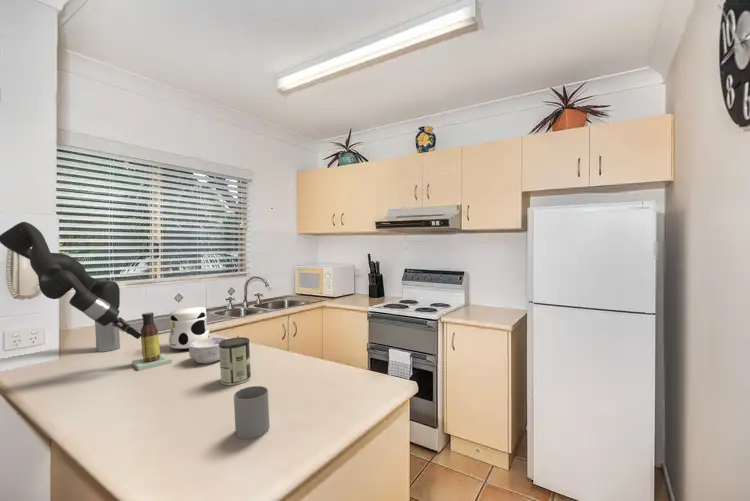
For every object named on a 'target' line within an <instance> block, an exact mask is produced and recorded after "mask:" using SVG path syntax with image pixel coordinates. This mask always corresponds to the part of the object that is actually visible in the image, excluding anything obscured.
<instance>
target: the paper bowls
mask: <svg viewBox="0 0 750 501" xmlns="http://www.w3.org/2000/svg"><path fill="white" fill-rule="evenodd" d="M226 339H228V338H227V337H222V336H220V337H219V336H216V337H209V338H206V339H201V340H198V341H195V342H193V343H191V344H190V345H189V349H188V352H189V354H188V355H189V358H191V359H194V360H195V362H196V363H198V364H210V363H215V362H218V361H220V351H219V342H221V341H223V340H226Z"/></svg>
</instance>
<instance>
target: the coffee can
mask: <svg viewBox="0 0 750 501" xmlns="http://www.w3.org/2000/svg"><path fill="white" fill-rule="evenodd" d="M219 351H220V360H219V364H220V366H219V368H220V383H221V384H222V385H223V386H237V385H241V384H244V383H246V382H248V381H250V380H251V378H252V374H251V373H252V372H251V357H250V356H251V355H250V354H251V352H250V351H251V350H250V339H249V337H232V338H227V339H226V340H223V341H221V342H219Z"/></svg>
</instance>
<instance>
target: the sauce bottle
mask: <svg viewBox="0 0 750 501" xmlns="http://www.w3.org/2000/svg"><path fill="white" fill-rule="evenodd" d="M154 314H155V313H154V312H153V311H149V312H143V313H142V314H141V317H142V327H141V329H140V334H142V335H141V337H140V342H141V344H140V345H141V352H142V353H141V354H142V358H143V361H146V362H150V361H155V360H157V359H159V358H160V354H161V351H160V350H161V348H160V337H159V330H158V329H157V326H156V324H155V321H154Z"/></svg>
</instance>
